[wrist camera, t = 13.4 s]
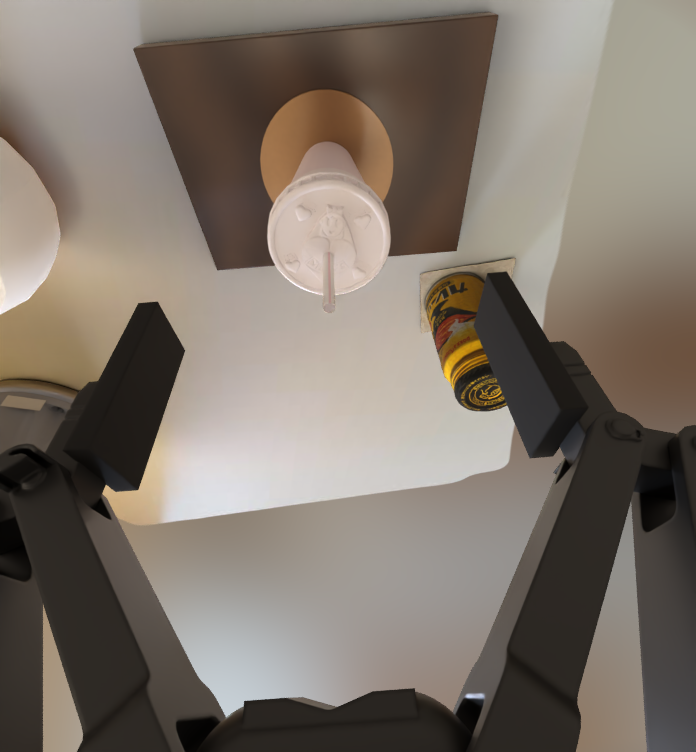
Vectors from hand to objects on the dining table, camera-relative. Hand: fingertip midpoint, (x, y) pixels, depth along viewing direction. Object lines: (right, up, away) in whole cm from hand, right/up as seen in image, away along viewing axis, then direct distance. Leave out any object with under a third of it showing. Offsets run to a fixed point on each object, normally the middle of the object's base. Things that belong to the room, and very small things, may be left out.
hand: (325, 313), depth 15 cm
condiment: (+12, +5, +21) cm, 25 cm away
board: (-1, +13, +11) cm, 17 cm away
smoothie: (0, +12, +10) cm, 15 cm away
